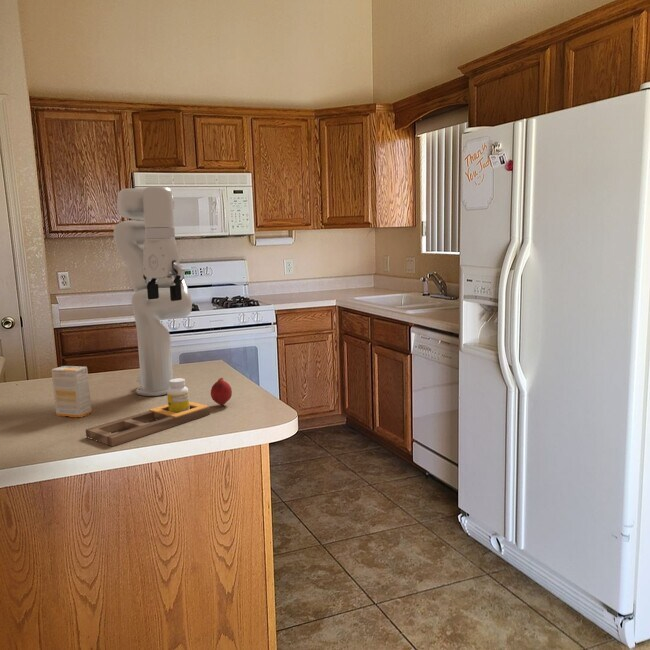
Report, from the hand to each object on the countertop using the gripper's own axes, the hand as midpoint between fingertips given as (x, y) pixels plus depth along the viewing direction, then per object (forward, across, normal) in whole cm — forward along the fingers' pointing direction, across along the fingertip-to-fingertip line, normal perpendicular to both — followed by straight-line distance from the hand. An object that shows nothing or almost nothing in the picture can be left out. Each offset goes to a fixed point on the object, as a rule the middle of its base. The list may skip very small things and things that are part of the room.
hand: (164, 299), depth 160 cm
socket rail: (+30, +7, -12) cm, 33 cm away
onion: (+31, +9, +10) cm, 33 cm away
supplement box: (+31, -19, -18) cm, 40 cm away
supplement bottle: (+31, +7, -3) cm, 31 cm away
